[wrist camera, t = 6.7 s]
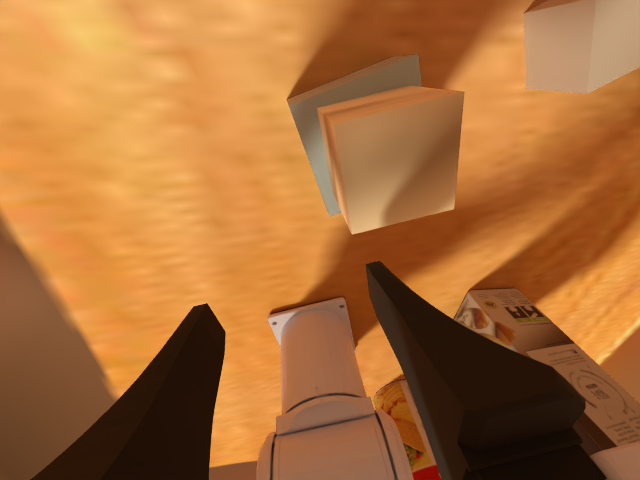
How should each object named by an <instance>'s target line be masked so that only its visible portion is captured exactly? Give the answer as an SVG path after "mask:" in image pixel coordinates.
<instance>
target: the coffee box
mask: <svg viewBox="0 0 640 480" xmlns="http://www.w3.org/2000/svg"><path fill="white" fill-rule="evenodd" d="M454 320H455V321H457V322H458V323H460V324H462V325H464V326H465V327H467V328H469V329H471V330H473V331H475V332H476V333H478V334H480V335H482V336H484V337H486V338H488V339H490V340H492V341H494V342H496V343H498V344H500V345H502V346H504V347H506V348H508V349H511V350H513V351H515V352H517V353H520V354H522V355H525V356H527V357H530V358H532V359H535V360H537V361H539V362H542V363H544V364H547V365H549V366H552V367H553V368H554V369H555V370H556V371H557V372H559V373H560V374H561V375H562V376H563V377H564V378H565V379H566V380H567V381H568V382H569V383H570V384H571V385H572V386H573V387H574V388H575V389H576V390H577V392H578V393H579V394H580V395H581V396H582V397H583V398H584V399H585V402H586V408H585V410H584V412H583V414H582V415H581V416H580V417H579V419H578V420H577V421H576V422H575V424H574V425H573V426H572V427H573V429H574V430H575V431H576V432H577V433H578V435H579V436H580V437H581V438H582V441H583V443H582V444H580V445H581V447H582V448H583V449H584V450H585V452H586V453H587V454H588V455H589V456H591V455H593V454H595V453H597V452H600V451H603V450H607V449H611V448H615V447H619V446H623V445H627V444H630V443H634V442H640V404H639V402H637V401H636V400H635V399H634V398H633V397H632V396H631V395H630V394H629V393H628V392H627V391H626V390H625V389H624V388H622V387H621V386H620V385H619V384H618V383H617V382H616V381H615V380H614V379H613V378H612V377H611V376H610V375H608V374H607V373H606V372H605V371H604V370H603V369H602V368H601V367H600V366H599V365H598V364H597V363H596V362H595V361H594V360H593V359H592V358H590V357H589V356H588V355H587V354H586V353H585V352H584V351H583V350H582V349H581V348H580V347H579V346H578V345H576V344H575V343H574V342H573V341H572V340H571V339H570V338H569V337H568V336H567V335H566V334H565V333H564V332H563V331H562V330H560V329H559V328H558V327H557V326H556V325H555V324H554V323H553V322H552V321H551V320H550V319H549V318H548V317H547V316H545V315H544V314H543V313H542V312H541V311H540V310H539V309H538V308H537V307H536V306H535V305H534V304H533V303H532V302H531V301H529V300H528V299H527V298H526V297H525V296H524V295H523V294H522V293H521V292H520V291H519V290H518V289H516V288H511V289H487V290H470V291H469V292H468V293H467V295H466V297H465V299H464V301H463V303H462V305H461V306H460V308H459V310H458V312H457V314H456V316H455V318H454Z"/></svg>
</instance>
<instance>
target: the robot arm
mask: <svg viewBox="0 0 640 480" xmlns="http://www.w3.org/2000/svg"><path fill="white" fill-rule="evenodd" d="M366 271H367V279H368V286H369V294H370V298H371V301H372V304H373V307H374V310H375V313H376V315H377V318H378V320H379V322H380V324H381V326H382V328H383V330H384V332H385V334H386V336H387V339H388V341H389V343H390V345H391V347H392V349H393V351H394V353H395V355H396V357H397V359H398V361H399V364H400V366H401V368H402V370H403V373H404V375H405V378H406V381H407V383H408V386H409V389H410V391H411V394H412V397H413V399H414V402H415V405H416V408H417V410H418V413H419V416H420V419H421V421H422V424H423V427H424V430H425V433H426V435H427V438H428V441H429V444H430V447H431V450H432V453H433V455H434V458H435V461H436V464H437V467H438V470H439V473H440V476H441V479H442V480H640V442H634V443H630V444H627V445H623V446H619V447H615V448H611V449H607V450H603V451H600V452H597V453H595V454H593V455H591V456H589V455H588V454H587V453H586V452H585V450H584V449H583V448H582V447H581V445H580V444H582V443H583V441H582V438H581V437H580V436H579V435H578V433H577V432H576V431H575V430H574V429H573V427H572V426H573V425H574V424H575V422H576V421H577V420H578V419H579V417H580V416H581V415H582V414H583V412H584V410H585V408H586V402H585V399H584V398H583V397H582V396H581V395H580V394H579V393H578V392H577V390H576V389H575V388H574V387H573V386H572V385H571V384H570V383H569V382H568V381H567V380H566V379H565V378H564V377H563V376H562V375H561V374H560V373H559V372H557V371H556V370H555V369H554V368H553V367H552V366H549V365H547V364H544V363H542V362H539V361H537V360H535V359H532V358H530V357H527V356H525V355H522V354H520V353H517V352H515V351H513V350H511V349H508V348H506V347H504V346H502V345H500V344H498V343H496V342H494V341H492V340H490V339H488V338H486V337H484V336H482V335H480V334H478V333H476V332H475V331H473V330H471V329H469V328H467V327H465V326H464V325H462V324H460V323H458V322H457V321H455V320H453V319H452V318H450V317H449V316H447V315H446V314H444V313H442V312H441V311H439V310H438V309H436V308H435V307H434V306H432V305H431V304H429V303H428V302H427V301H425V300H424V299H423V298H421V297H420V296H419V295H417V294H416V293H415V292H414V291H412V290H411V289H410V288H409V287H408V286H406V285H405V284H404V283H403V282H402V281H400V280H399V279H398V278H397V277H396V276H395V275H394V274H393V273H392V272H391V271H390V270H389V269H388V268H387V267H386V266H385V265H384V264H383V263H382V262H380V261H377V262H373V263H369V264H366ZM340 305H342V306H340ZM268 322H269V324H270V326H271V328H272V330H273V333H274V335H275V337H276V339H277V341H278V343H279V345H280V347H281V403H282V415H281V416H277V417H276V432H272V433H270V434H268V436H267V437H266V440H265V442H264V443H263V445H262V447H261V449H260V453H259V457H258V464H257V476H256V477H257V478H256V480H414V479H413V475H412V471H411V468H410V464H409V461H408V457H407V454H406V451H405V448H404V445H403V442H402V439H401V436H400V434H399V431H398V429H397V426H396V424H395V422H394V420H393V419H392V417H391V416H389V415H388V414H387V413H385V411H384V410H383V409H377V410H375V411H374V408H373V404H372V401H371V398H370V397H367V396H366V392H365V389H364V385H363V382H362V378H361V374H360V371H359V367H358V364H357V360H356V356H355V353H356V349H355V344H354V339H353V334H352V329H351V324H350V320H349V315H348V310H347V305H346V301H345V298H343V297H339V298H335V299H331V300H327V301H323V302H319V303H315V304H311V305H307V306H303V307H299V308H295V309H291V310H287V311H283V312H279V313H275V314H271V315H269V316H268ZM224 352H225V331H224V329H223V327H222V326H221V324H220V323H219V321H218V320H217V318H216V316H215V315H214V313H213V312H212V310H211V309H210V307H209V305H208V304H207V303H206V304H202V305H198V306H194V307H193V308H192V309H191V311H190V312H189V313H188V315H187V316H186V317H185V319H184V320H183V321H182V323H181V324H180V325H179V327H178V328H177V329H176V331H175V332H174V333H173V335H172V336H171V337H170V339H169V340H168V341H167V343H166V344H165V345H164V347H163V348H162V349H161V350H160V352H159V353H158V354H157V355H156V357H155V358H154V359H153V360H152V362H151V363H150V364H149V365H148V366H147V368H146V369H145V370H144V371H143V373H142V374H141V375H140V376H139V377H138V379H137V380H136V381H135V382H134V383H133V384H132V385H131V386H130V388H129V389H128V390H127V391H126V392H125V393H124V394H123V395H122V396H121V397H120V398H119V399H118V400H117V401H116V402H115V404H114V405H113V406H112V407H111V408H110V409H109V410H108V411H107V412H106V413H104V414H103V415H102V416H101V417H100V418H99V419H98V420H97V421H96V422H95V423H94V424H93V425H92V426H91V427H90V428H89V429H88V430H87V431H86V432H85V433H84V434H83V435H82V436H81V437H79V438H78V439H77V440H76V441H75V442H74V443H73V444H72V445H71V446H70V447H69V448H67V449H66V450H65V451H64V452H63V453H62V454H61V455H59V456H58V457H57V458H56V459H55V460H54V461H52V462H51V463H50V464H49V465H48V466H47V467H46V468H44V469H43V470H42V471H41V472H39V473H38V474H37V475H36V476H35V477H34V478H32V479H31V480H209V462H210V446H211V434H212V423H213V415H214V408H215V402H216V397H217V392H218V387H219V381H220V376H221V371H222V365H223V359H224Z"/></svg>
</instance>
